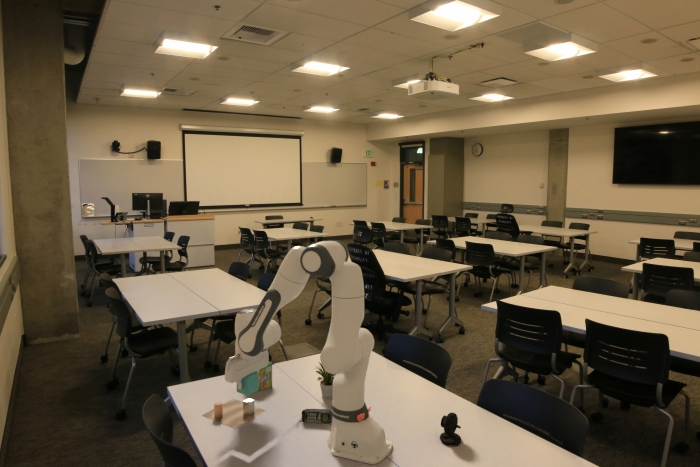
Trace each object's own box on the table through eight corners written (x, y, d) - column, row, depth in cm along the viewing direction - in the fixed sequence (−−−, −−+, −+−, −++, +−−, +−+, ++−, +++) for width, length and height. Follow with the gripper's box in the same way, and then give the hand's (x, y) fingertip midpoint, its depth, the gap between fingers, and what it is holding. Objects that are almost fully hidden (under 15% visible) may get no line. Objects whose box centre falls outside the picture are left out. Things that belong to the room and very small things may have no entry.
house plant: (329, 409, 180) (329, 370, 178) (303, 399, 188) (303, 361, 186) (350, 395, 191) (350, 359, 189) (325, 387, 199) (325, 351, 197)
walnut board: (265, 413, 176) (265, 410, 176) (235, 432, 163) (235, 428, 162) (233, 402, 185) (233, 398, 185) (201, 419, 172) (201, 415, 172)
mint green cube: (258, 389, 174) (258, 372, 173) (247, 395, 169) (247, 378, 168) (247, 386, 177) (247, 369, 176) (236, 391, 172) (236, 374, 171)
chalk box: (243, 390, 196) (242, 357, 195) (257, 382, 204) (256, 350, 203) (260, 394, 192) (259, 361, 190) (273, 386, 200) (272, 354, 198)
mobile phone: (301, 411, 169) (340, 411, 168) (302, 407, 172) (341, 407, 171) (301, 424, 169) (341, 424, 168) (302, 420, 172) (341, 420, 171)
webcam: (445, 432, 163) (446, 405, 162) (465, 439, 159) (465, 412, 157) (435, 441, 157) (436, 414, 156) (455, 449, 153) (455, 421, 151)
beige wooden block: (254, 412, 174) (254, 400, 174) (248, 415, 172) (248, 403, 171) (248, 410, 176) (248, 398, 175) (243, 413, 173) (243, 401, 173)
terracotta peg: (224, 415, 172) (224, 403, 171) (218, 419, 169) (217, 406, 169) (219, 413, 173) (218, 401, 173) (212, 416, 171) (212, 404, 170)
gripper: (232, 361, 161) (233, 397, 162) (271, 344, 178) (271, 377, 179) (220, 357, 164) (221, 393, 165) (259, 341, 181) (259, 373, 183)
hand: (247, 384), depth 173 cm, fingers closed on mint green cube, 6 cm apart
